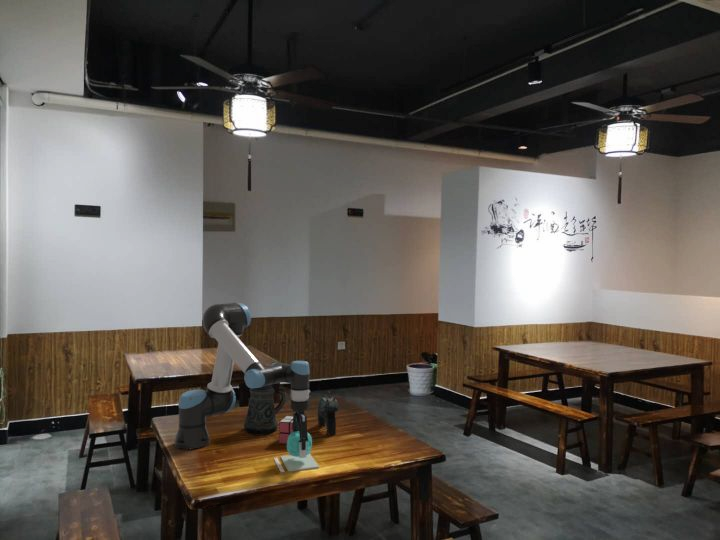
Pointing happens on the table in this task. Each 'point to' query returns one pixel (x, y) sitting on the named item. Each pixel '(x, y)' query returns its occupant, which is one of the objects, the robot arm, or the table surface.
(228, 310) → the robot arm
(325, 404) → the binoculars
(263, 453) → the table surface
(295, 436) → the teal rounded piece
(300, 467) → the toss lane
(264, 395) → the beer stein
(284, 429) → the puzzle cube
